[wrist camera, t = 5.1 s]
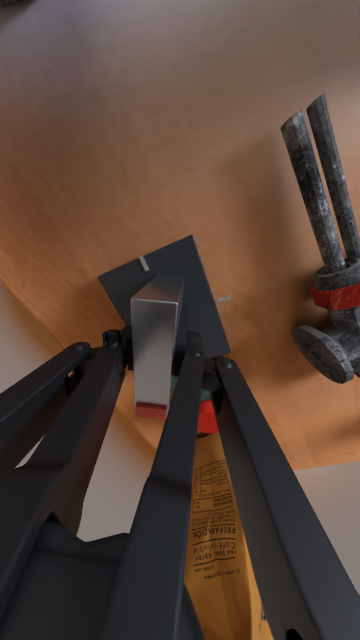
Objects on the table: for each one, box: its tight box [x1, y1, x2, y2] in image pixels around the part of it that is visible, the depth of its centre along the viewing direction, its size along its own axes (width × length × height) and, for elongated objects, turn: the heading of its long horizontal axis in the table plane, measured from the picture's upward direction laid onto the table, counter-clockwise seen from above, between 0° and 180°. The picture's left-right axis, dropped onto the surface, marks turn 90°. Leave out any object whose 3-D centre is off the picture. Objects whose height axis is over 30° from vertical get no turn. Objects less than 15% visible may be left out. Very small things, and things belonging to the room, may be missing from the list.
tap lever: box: [131, 274, 185, 419], centre depth 14 cm, size 9×2×8 cm, turn 175°
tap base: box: [98, 235, 231, 358], centre depth 19 cm, size 13×13×3 cm
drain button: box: [197, 400, 219, 434], centre depth 21 cm, size 4×4×2 cm
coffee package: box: [184, 432, 273, 640], centre depth 21 cm, size 10×12×22 cm
